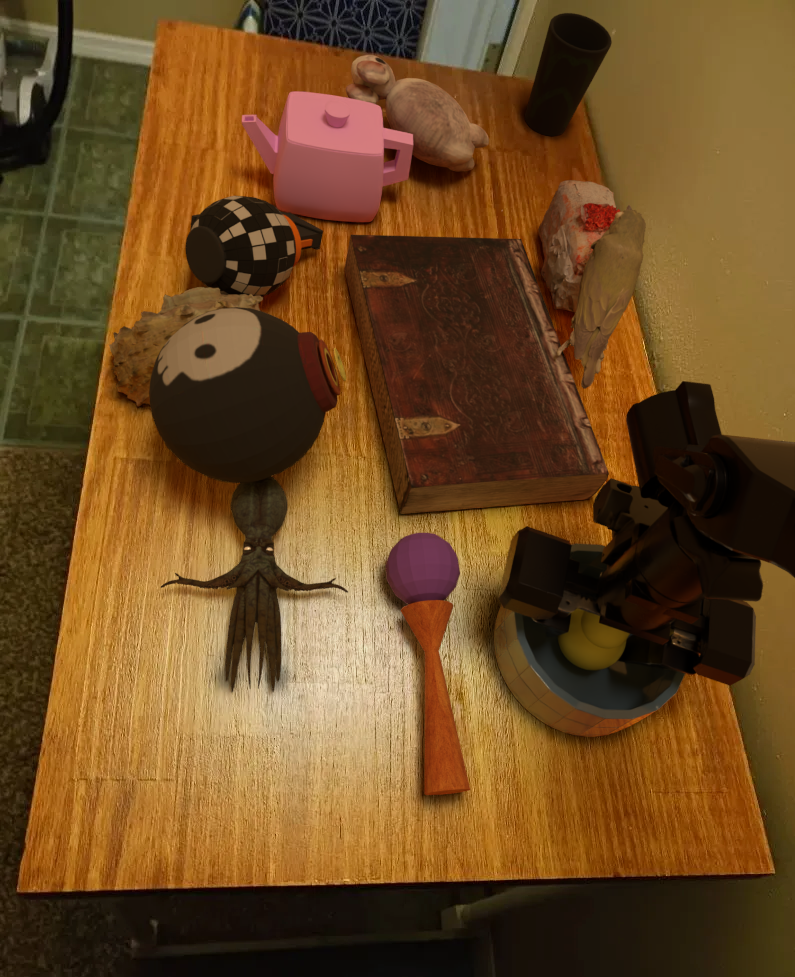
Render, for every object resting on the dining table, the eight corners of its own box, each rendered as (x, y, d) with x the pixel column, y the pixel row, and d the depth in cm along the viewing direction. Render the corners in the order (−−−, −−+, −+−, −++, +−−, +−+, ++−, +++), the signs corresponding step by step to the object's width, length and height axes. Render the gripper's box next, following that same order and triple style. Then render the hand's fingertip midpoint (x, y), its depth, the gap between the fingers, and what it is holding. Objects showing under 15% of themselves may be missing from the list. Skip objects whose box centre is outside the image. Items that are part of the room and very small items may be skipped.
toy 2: (375, 101, 102) (301, 80, 90) (407, 44, 98) (334, 14, 86) (529, 243, 96) (472, 241, 84) (570, 188, 92) (517, 178, 80)
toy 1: (120, 303, 63) (302, 242, 62) (198, 419, 73) (356, 369, 72) (107, 425, 54) (319, 357, 53) (197, 537, 65) (377, 483, 63)
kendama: (407, 792, 56) (382, 524, 64) (405, 799, 61) (382, 551, 70) (493, 784, 56) (457, 518, 65) (483, 791, 62) (451, 545, 70)
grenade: (159, 176, 73) (277, 167, 84) (151, 274, 79) (264, 254, 90) (245, 225, 69) (359, 209, 80) (231, 326, 74) (339, 298, 85)
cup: (514, 131, 103) (547, 39, 93) (519, 96, 107) (551, 5, 97) (572, 148, 104) (611, 59, 94) (574, 113, 108) (612, 24, 98)
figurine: (148, 687, 56) (168, 452, 63) (153, 701, 61) (172, 481, 68) (355, 688, 59) (352, 462, 66) (343, 700, 64) (342, 490, 71)
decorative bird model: (642, 220, 83) (670, 198, 78) (587, 398, 79) (613, 387, 74) (599, 198, 82) (625, 175, 77) (541, 378, 78) (565, 365, 73)
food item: (613, 328, 89) (655, 261, 80) (544, 322, 87) (580, 254, 79) (588, 238, 95) (624, 168, 87) (523, 231, 94) (554, 159, 85)
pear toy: (605, 687, 67) (654, 652, 59) (542, 666, 66) (585, 628, 59) (613, 628, 69) (661, 588, 62) (553, 608, 69) (594, 564, 62)
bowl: (648, 761, 65) (682, 744, 60) (477, 703, 64) (498, 682, 60) (663, 602, 72) (694, 577, 68) (511, 549, 72) (532, 520, 67)
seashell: (287, 361, 78) (295, 277, 71) (180, 447, 70) (176, 362, 62) (199, 306, 81) (198, 219, 73) (86, 382, 72) (70, 293, 65)
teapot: (236, 211, 86) (239, 126, 77) (242, 146, 91) (246, 60, 83) (403, 233, 89) (424, 154, 81) (399, 169, 95) (418, 89, 86)
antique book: (591, 498, 76) (614, 471, 72) (399, 515, 71) (411, 487, 67) (510, 270, 90) (524, 236, 86) (343, 271, 85) (350, 234, 81)
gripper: (806, 509, 58) (695, 594, 72) (562, 423, 58) (496, 525, 71) (807, 650, 52) (686, 715, 66) (535, 556, 52) (468, 640, 65)
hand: (583, 643), depth 67 cm, fingers open, 6 cm apart
